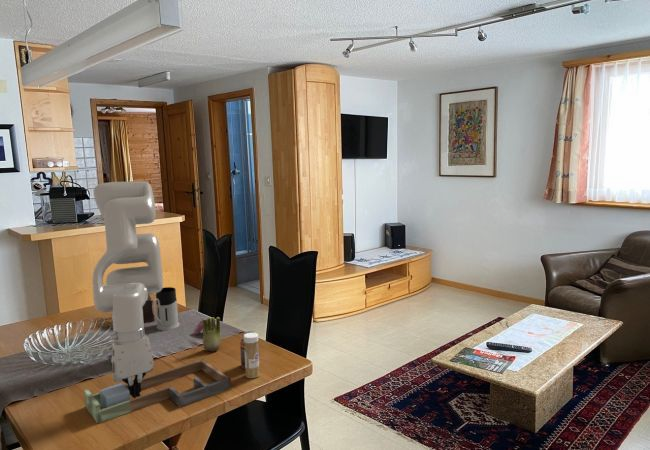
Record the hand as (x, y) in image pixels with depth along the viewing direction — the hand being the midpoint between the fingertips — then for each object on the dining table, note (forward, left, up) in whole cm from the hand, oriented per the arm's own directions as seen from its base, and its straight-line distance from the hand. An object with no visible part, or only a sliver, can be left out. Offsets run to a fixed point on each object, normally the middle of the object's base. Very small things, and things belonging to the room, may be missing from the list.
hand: (135, 395), depth 138 cm
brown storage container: (-67, +26, -2) cm, 72 cm away
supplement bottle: (+4, +36, -2) cm, 36 cm away
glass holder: (-48, +29, -2) cm, 56 cm away
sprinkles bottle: (+10, +33, -2) cm, 34 cm away
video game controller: (-30, +38, -2) cm, 49 cm away
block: (0, -5, -1) cm, 6 cm away
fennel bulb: (-16, +33, -2) cm, 37 cm away
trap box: (+3, +6, -1) cm, 7 cm away
